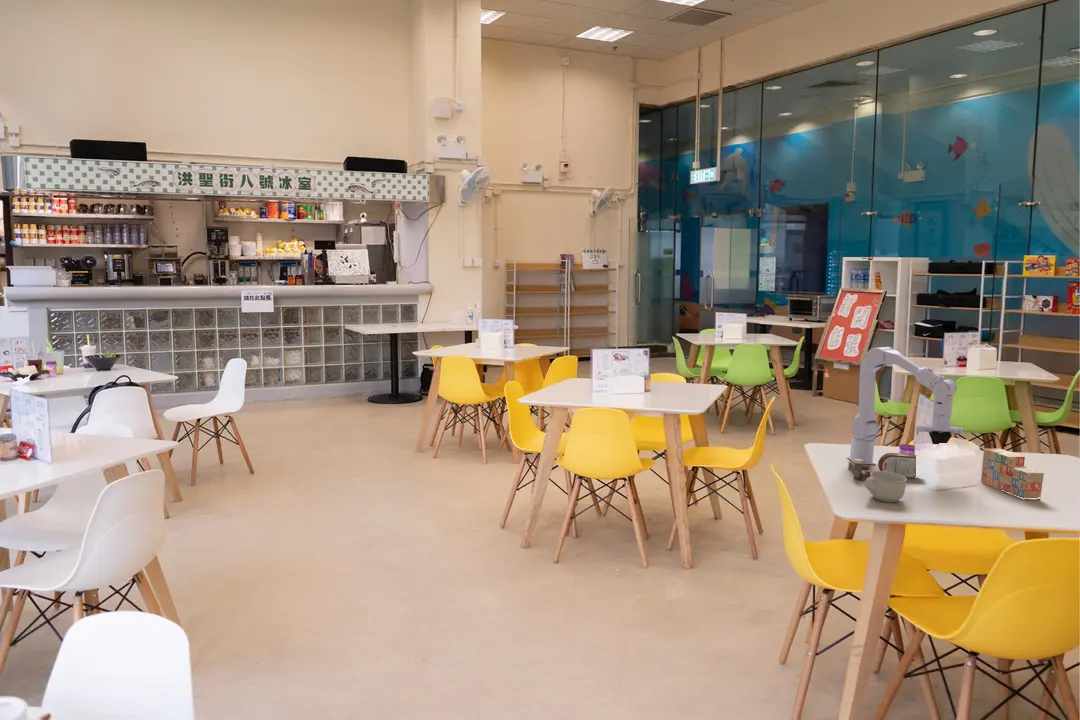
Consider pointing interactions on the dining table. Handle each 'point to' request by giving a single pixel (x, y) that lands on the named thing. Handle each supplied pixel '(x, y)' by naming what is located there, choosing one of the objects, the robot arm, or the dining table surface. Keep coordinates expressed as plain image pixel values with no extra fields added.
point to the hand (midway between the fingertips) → (938, 452)
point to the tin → (899, 464)
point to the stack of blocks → (1010, 474)
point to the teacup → (886, 485)
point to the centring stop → (859, 469)
